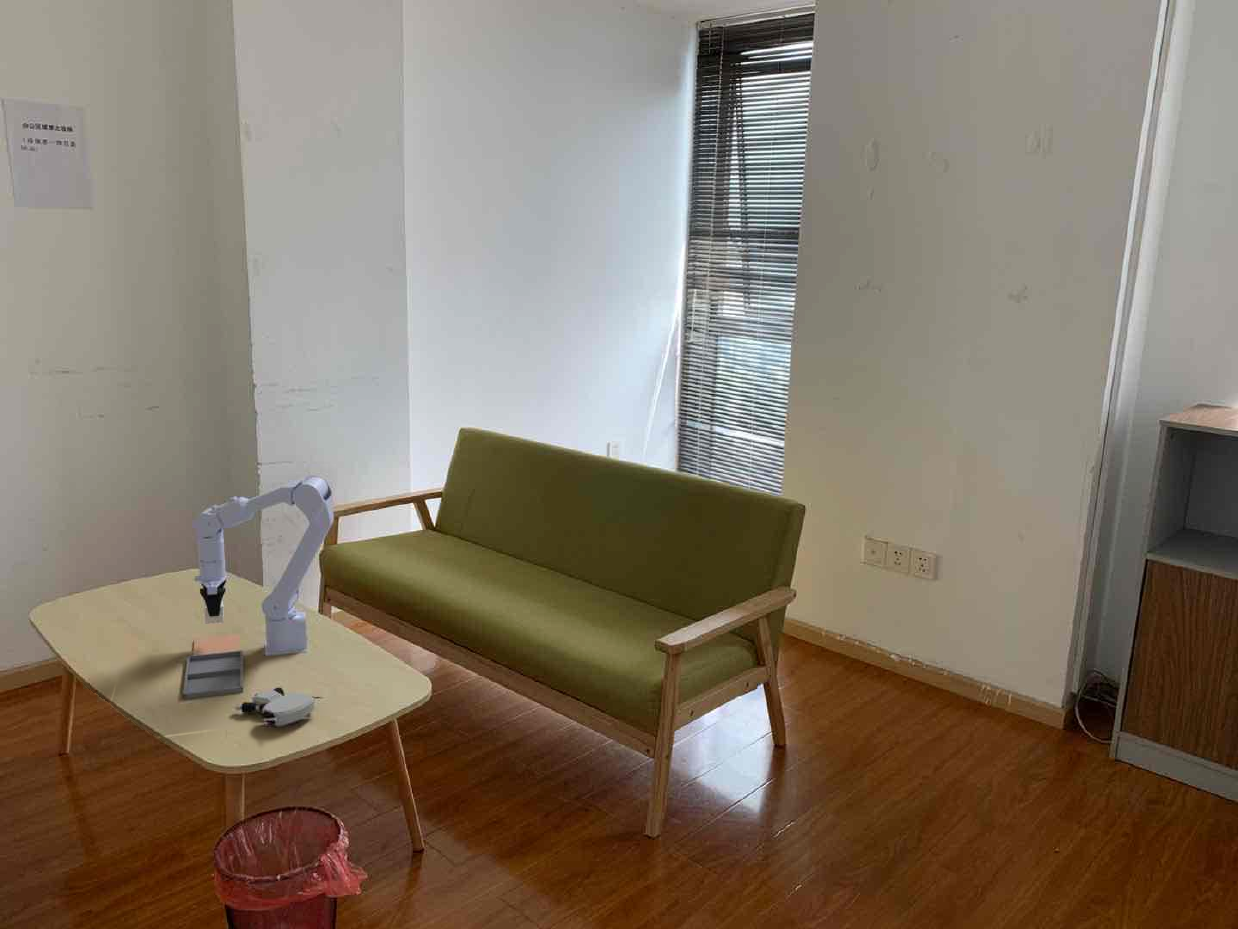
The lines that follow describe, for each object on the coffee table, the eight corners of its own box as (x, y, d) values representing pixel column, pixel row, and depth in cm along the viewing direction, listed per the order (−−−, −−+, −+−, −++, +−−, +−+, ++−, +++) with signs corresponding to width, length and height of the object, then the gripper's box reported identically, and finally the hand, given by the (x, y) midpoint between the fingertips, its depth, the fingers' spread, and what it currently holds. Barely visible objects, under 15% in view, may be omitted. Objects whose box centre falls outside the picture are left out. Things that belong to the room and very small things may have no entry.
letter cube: (223, 616, 231) (223, 600, 230) (223, 622, 228) (222, 606, 227) (206, 617, 230) (205, 601, 229) (205, 624, 226) (204, 607, 225)
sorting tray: (242, 656, 226) (242, 650, 226) (243, 693, 208) (242, 687, 208) (188, 661, 222) (187, 655, 222) (183, 700, 204) (182, 694, 204)
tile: (238, 636, 237) (238, 634, 237) (238, 653, 228) (238, 650, 228) (195, 641, 233) (194, 638, 233) (193, 657, 224) (192, 655, 224)
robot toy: (231, 720, 199) (279, 737, 191) (229, 700, 198) (277, 716, 190) (279, 698, 209) (326, 714, 201) (278, 679, 208) (325, 694, 200)
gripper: (194, 550, 230) (197, 602, 234) (191, 570, 217) (195, 625, 220) (226, 548, 233) (228, 600, 236) (225, 567, 220) (227, 622, 223)
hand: (214, 612), depth 228 cm, fingers closed on letter cube, 4 cm apart
